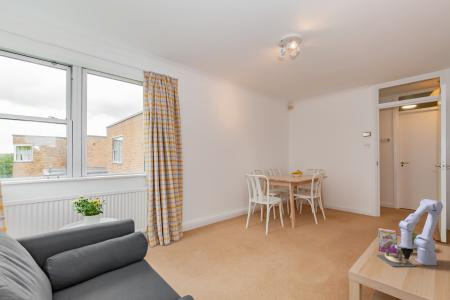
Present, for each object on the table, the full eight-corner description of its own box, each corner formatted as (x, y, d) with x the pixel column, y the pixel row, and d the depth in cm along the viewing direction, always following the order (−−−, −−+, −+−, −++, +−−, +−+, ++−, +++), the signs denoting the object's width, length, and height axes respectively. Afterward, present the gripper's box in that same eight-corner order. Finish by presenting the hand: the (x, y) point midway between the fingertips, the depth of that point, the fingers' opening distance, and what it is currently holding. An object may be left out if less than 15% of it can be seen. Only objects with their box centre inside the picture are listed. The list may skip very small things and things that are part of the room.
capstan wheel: (397, 255, 155) (396, 247, 155) (411, 263, 143) (411, 255, 143) (380, 255, 155) (380, 247, 155) (393, 263, 143) (393, 255, 143)
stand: (397, 255, 156) (397, 254, 156) (415, 267, 141) (415, 265, 141) (377, 255, 156) (377, 254, 156) (392, 267, 141) (392, 265, 141)
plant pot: (407, 250, 164) (407, 236, 164) (399, 244, 175) (399, 230, 175) (426, 252, 161) (426, 238, 161) (417, 245, 172) (417, 232, 172)
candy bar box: (378, 250, 164) (378, 229, 164) (378, 248, 168) (378, 227, 168) (397, 254, 158) (397, 232, 158) (396, 251, 162) (396, 230, 162)
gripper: (412, 236, 148) (412, 255, 148) (391, 236, 149) (391, 255, 149) (421, 240, 141) (421, 261, 141) (399, 240, 142) (399, 261, 142)
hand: (406, 258), depth 145 cm, fingers closed
